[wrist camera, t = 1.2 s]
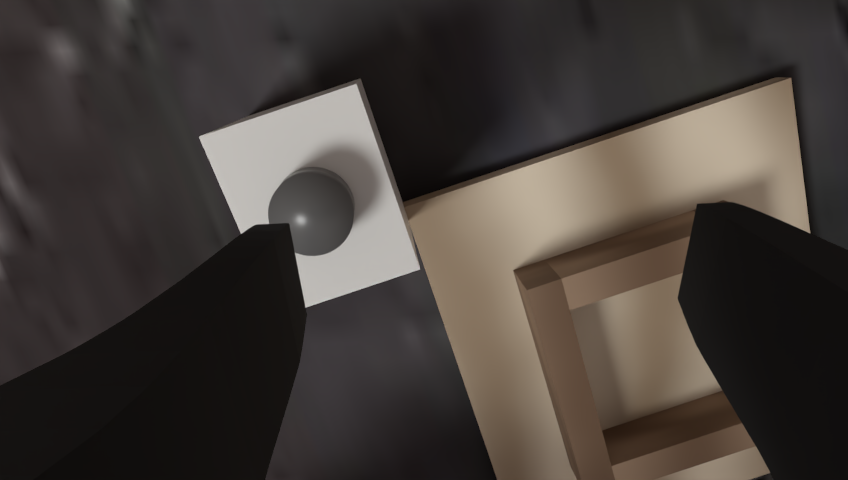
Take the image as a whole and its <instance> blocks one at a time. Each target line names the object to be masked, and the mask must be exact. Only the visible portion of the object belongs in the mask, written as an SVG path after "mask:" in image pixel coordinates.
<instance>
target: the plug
mask: <svg viewBox="0 0 848 480" xmlns="http://www.w3.org/2000/svg"><path fill="white" fill-rule="evenodd" d="M199 138H200V140H201V143H202V145H203V147H204V150H205V152H206V154H207V157H208V159H209V161H210V163H211V166H212V168H213V170H214V173H215V175H216V177H217V179H218V182H219V184H220V186H221V189H222V191H223V193H224V196H225V198H226V200H227V202H228V205H229V207H230V209H231V212H232V214H233V216H234V218H235V221H236V223H237V225H238V228H239V230H240V232H241V234H242V233H243V232H245V231H246V230H248V229H249V228H251V227H252V226H254V225H257V224H278V223H289V225H290V230H291V235H292V240H293V246H294V251H295V256H296V261H297V266H298V271H299V277H300V282H301V287H302V292H303V297H304V303H305V308H306V307H309V306H312V305H315V304H318V303H321V302H324V301H327V300H330V299H333V298H336V297H339V296H342V295H345V294H348V293H351V292H354V291H357V290H360V289H363V288H366V287H369V286H372V285H375V284H378V283H381V282H384V281H387V280H390V279H393V278H396V277H399V276H402V275H405V274H408V273H411V272H414V271H417V270H420V266H419V262H418V258H417V254H416V250H415V246H414V241H413V237H412V233H411V229H410V225H409V221H408V218H407V215H406V212H405V209H404V205H403V201H402V199H401V196H400V193H399V190H398V187H397V184H396V181H395V178H394V175H393V172H392V169H391V166H390V163H389V160H388V157H387V155H386V152H385V149H384V146H383V143H382V140H381V137H380V134H379V131H378V128H377V125H376V122H375V119H374V116H373V113H372V111H371V108H370V105H369V102H368V99H367V96H366V93H365V90H364V87H363V84H362V81H361V78H360V79H357V80H354V81H351V82H348V83H345V84H342V85H339V86H336V87H333V88H330V89H327V90H324V91H321V92H318V93H315V94H312V95H309V96H306V97H303V98H300V99H297V100H294V101H291V102H288V103H285V104H282V105H279V106H276V107H273V108H270V109H267V110H264V111H261V112H259V113H256V114H253V115H250V116H247V117H245V118H242V119H240V120H237V121H235V122H233V123H230V124H228V125H225V126H223V127H221V128H218V129H216V130H214V131H211V132H209V133H206V134H204V135H202V136H199Z"/></svg>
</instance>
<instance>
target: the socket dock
mask: <svg viewBox="0 0 848 480" xmlns="http://www.w3.org/2000/svg"><path fill="white" fill-rule="evenodd" d="M722 202H734V203H738V204H741V205H744V206H747V207H750V208H752V209H755V210H757V211H760V212H762V213H765V214H767V215H770V216H772V217H774V218H777V219H779V220H781V221H783V222H786V223H788V224H790V225H792V226H795V227H797V228H799V229H801V230H804V231H806V232H808V233H810V227H809V219H808V211H807V202H806V194H805V186H804V178H803V170H802V162H801V154H800V146H799V138H798V129H797V121H796V113H795V105H794V97H793V89H792V81H791V78H782V77H775V78H772V79H769V80H766V81H763V82H760V83H757V84H754V85H751V86H748V87H745V88H742V89H739V90H736V91H733V92H730V93H727V94H724V95H721V96H719V97H716V98H713V99H710V100H707V101H704V102H701V103H698V104H695V105H692V106H689V107H686V108H683V109H680V110H677V111H674V112H671V113H668V114H665V115H662V116H659V117H656V118H653V119H650V120H647V121H644V122H641V123H638V124H635V125H632V126H629V127H626V128H623V129H620V130H617V131H614V132H611V133H608V134H605V135H602V136H599V137H596V138H593V139H590V140H587V141H584V142H581V143H578V144H575V145H572V146H569V147H566V148H563V149H560V150H557V151H554V152H551V153H548V154H545V155H542V156H539V157H536V158H533V159H530V160H527V161H524V162H521V163H518V164H515V165H512V166H509V167H506V168H503V169H500V170H497V171H494V172H491V173H488V174H486V175H483V176H480V177H477V178H474V179H471V180H468V181H465V182H462V183H459V184H456V185H453V186H450V187H447V188H444V189H441V190H438V191H435V192H432V193H429V194H426V195H423V196H420V197H417V198H414V199H411V200H408V201H405V202H403V205H404V209H405V212H406V215H407V218H408V220H409V223H410V226H411V229H412V232H413V235H414V238H415V241H416V244H417V247H418V250H419V253H420V256H421V258H422V261H423V264H424V267H425V270H426V273H427V276H428V279H429V282H430V285H431V288H432V291H433V294H434V296H435V299H436V302H437V305H438V308H439V311H440V314H441V317H442V320H443V323H444V326H445V329H446V332H447V334H448V337H449V340H450V343H451V346H452V349H453V352H454V355H455V358H456V361H457V364H458V367H459V370H460V372H461V375H462V378H463V381H464V384H465V387H466V390H467V393H468V396H469V399H470V402H471V405H472V408H473V410H474V413H475V416H476V419H477V422H478V425H479V428H480V431H481V434H482V437H483V440H484V443H485V446H486V448H487V451H488V454H489V457H490V460H491V463H492V466H493V469H494V472H495V475H496V478H497V480H750V479H753V478H756V477H759V476H762V475H765V474H768V473H770V471H769V469H768V467H767V466H766V464H765V462H764V460H763V458H762V456H761V454H760V453H759V451H758V449H757V447H756V446H755V444H754V442H753V441H752V439H751V437H750V436H749V434H748V432H747V431H746V429H745V427H744V426H743V424H742V422H741V421H740V419H739V417H738V416H737V414H736V412H735V411H734V409H733V407H732V406H731V404H730V402H729V401H728V399H727V397H726V396H725V394H724V392H723V391H722V389H721V387H720V385H719V384H718V382H717V380H716V379H715V377H714V375H713V374H712V372H711V370H710V368H709V367H708V365H707V363H706V362H705V360H704V358H703V356H702V355H701V353H700V351H699V349H698V348H697V346H696V344H695V341H694V339H693V337H692V334H691V332H690V330H689V327H688V325H687V322H686V320H685V317H684V314H683V312H682V309H681V306H680V304H679V301H678V299H677V298H678V293H679V288H680V284H681V279H682V274H683V269H684V264H685V259H686V255H687V250H688V245H689V240H690V235H691V230H692V226H693V221H694V216H695V211H696V206H697V204H701V203H722Z"/></svg>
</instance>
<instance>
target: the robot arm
mask: <svg viewBox="0 0 848 480" xmlns="http://www.w3.org/2000/svg"><path fill="white" fill-rule="evenodd" d="M677 299H678V301H679V304H680V306H681V309H682V312H683V314H684V317H685V320H686V322H687V325H688V327H689V330H690V332H691V334H692V337H693V339H694V341H695V344H696V346H697V348H698V349H699V351H700V353H701V355H702V356H703V358H704V360H705V362H706V363H707V365H708V367H709V368H710V370H711V372H712V374H713V375H714V377H715V379H716V380H717V382H718V384H719V385H720V387H721V389H722V391H723V392H724V394H725V396H726V397H727V399H728V401H729V402H730V404H731V406H732V407H733V409H734V411H735V412H736V414H737V416H738V417H739V419H740V421H741V422H742V424H743V426H744V427H745V429H746V431H747V432H748V434H749V436H750V437H751V439H752V441H753V442H754V444H755V446H756V447H757V449H758V451H759V453H760V454H761V456H762V458H763V460H764V462H765V464H766V466H767V467H768V469H769V471H770V473H771V475H772V477H773V479H774V480H848V250H846V249H844V248H842V247H840V246H837V245H835V244H833V243H831V242H828V241H826V240H824V239H821V238H819V237H817V236H815V235H813V234H810V233H808V232H806V231H804V230H801V229H799V228H797V227H795V226H792V225H790V224H788V223H786V222H783V221H781V220H779V219H777V218H774V217H772V216H770V215H767V214H765V213H762V212H760V211H757V210H755V209H752V208H750V207H747V206H744V205H741V204H738V203H734V202H722V203H701V204H697V206H696V211H695V216H694V221H693V226H692V230H691V235H690V240H689V245H688V250H687V255H686V259H685V264H684V269H683V274H682V279H681V284H680V288H679V293H678V298H677ZM306 317H307V313H306V308H305V303H304V297H303V292H302V287H301V282H300V277H299V271H298V266H297V261H296V256H295V251H294V246H293V240H292V235H291V230H290V225H289V223H278V224H257V225H254V226H252V227H251V228H249V229H248V230H246V231H245V232H243V233H242V234H241V235H239V236H238V237H237V238H235V239H234V240H233V241H231V242H230V243H229V244H227V245H226V246H225V247H224V248H222V249H221V250H220V251H218V252H217V253H216V254H215V255H213V256H212V257H211V258H209V259H208V260H207V261H205V262H204V263H203V264H202V265H200V266H199V267H198V268H196V269H195V270H194V271H192V272H191V273H190V274H189V275H187V276H186V277H185V278H183V279H182V280H181V281H179V282H178V283H176V284H175V285H173V286H172V287H171V288H169V289H168V290H166V291H165V292H163V293H162V294H161V295H159V296H158V297H156V298H155V299H153V300H152V301H151V302H149V303H148V304H146V305H145V306H143V307H142V308H140V309H139V310H138V311H136V312H135V313H133V314H132V315H130V316H128V317H127V318H125V319H124V320H122V321H121V322H119V323H117V324H116V325H114V326H112V327H111V328H109V329H108V330H106V331H104V332H102V333H101V334H99V335H97V336H95V337H94V338H92V339H90V340H89V341H87V342H85V343H83V344H82V345H80V346H78V347H76V348H74V349H73V350H71V351H69V352H67V353H65V354H63V355H61V356H59V357H57V358H55V359H53V360H51V361H49V362H47V363H45V364H43V365H41V366H39V367H37V368H35V369H33V370H31V371H29V372H27V373H25V374H23V375H21V376H19V377H17V378H15V379H13V380H11V381H9V382H7V383H5V384H3V385H1V386H0V480H265V478H266V474H267V470H268V467H269V463H270V460H271V457H272V453H273V450H274V447H275V443H276V440H277V437H278V433H279V430H280V427H281V424H282V420H283V417H284V414H285V410H286V407H287V404H288V400H289V397H290V394H291V390H292V387H293V383H294V380H295V377H296V373H297V370H298V366H299V363H300V357H301V351H302V345H303V338H304V331H305V324H306Z"/></svg>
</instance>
